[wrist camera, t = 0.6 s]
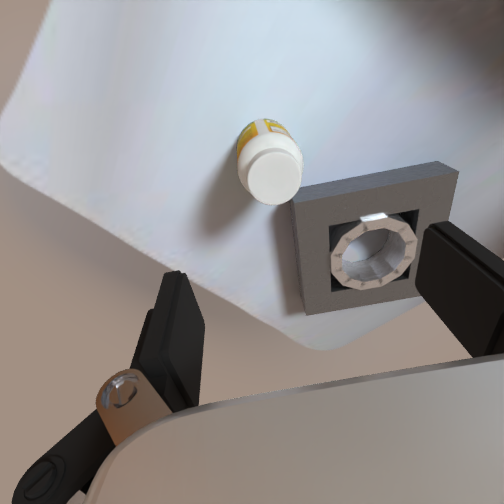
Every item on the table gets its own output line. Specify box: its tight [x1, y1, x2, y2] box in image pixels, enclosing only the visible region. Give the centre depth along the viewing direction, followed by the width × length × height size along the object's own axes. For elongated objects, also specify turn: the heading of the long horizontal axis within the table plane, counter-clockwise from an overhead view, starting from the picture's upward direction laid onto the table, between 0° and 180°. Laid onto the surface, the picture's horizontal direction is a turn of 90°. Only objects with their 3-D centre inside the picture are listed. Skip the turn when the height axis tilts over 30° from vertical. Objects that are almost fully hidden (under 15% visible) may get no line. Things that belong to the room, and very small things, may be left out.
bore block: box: [290, 161, 459, 316], centre depth 34 cm, size 16×16×4 cm
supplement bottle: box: [237, 119, 304, 205], centre depth 25 cm, size 5×5×10 cm
